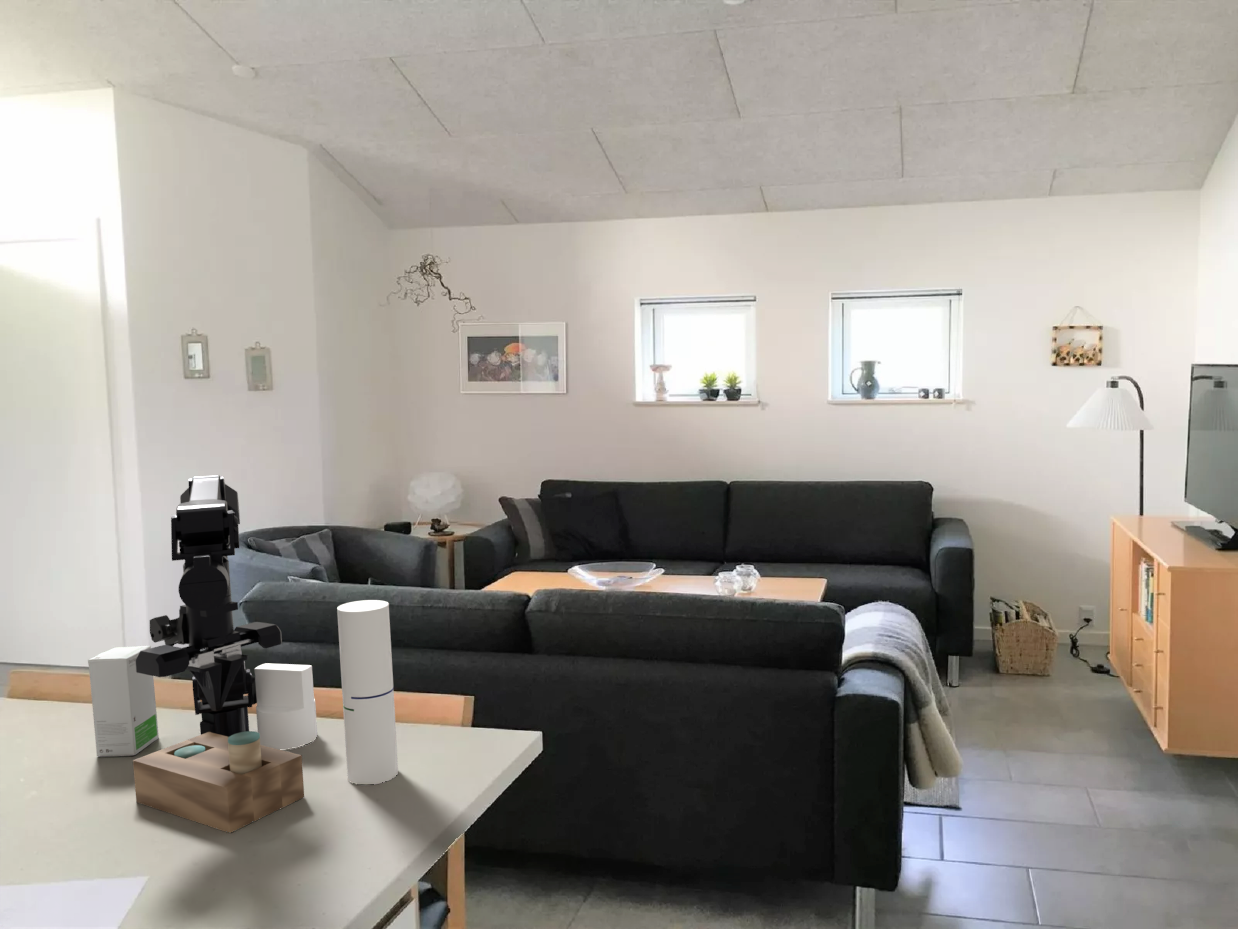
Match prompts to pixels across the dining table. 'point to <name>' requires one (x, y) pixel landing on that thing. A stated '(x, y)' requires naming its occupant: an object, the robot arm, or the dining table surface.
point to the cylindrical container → (367, 691)
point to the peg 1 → (189, 751)
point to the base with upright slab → (285, 705)
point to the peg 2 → (244, 752)
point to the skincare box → (122, 703)
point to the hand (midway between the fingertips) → (216, 710)
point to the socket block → (217, 783)
